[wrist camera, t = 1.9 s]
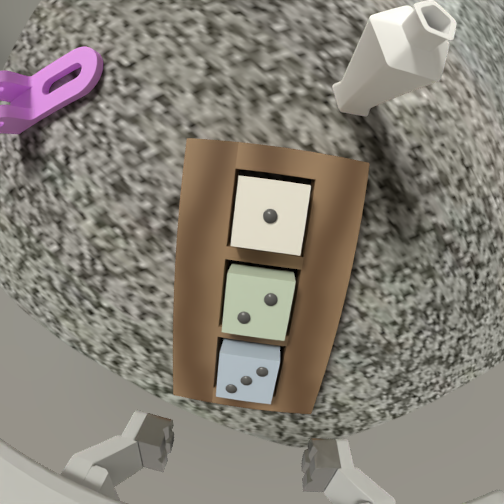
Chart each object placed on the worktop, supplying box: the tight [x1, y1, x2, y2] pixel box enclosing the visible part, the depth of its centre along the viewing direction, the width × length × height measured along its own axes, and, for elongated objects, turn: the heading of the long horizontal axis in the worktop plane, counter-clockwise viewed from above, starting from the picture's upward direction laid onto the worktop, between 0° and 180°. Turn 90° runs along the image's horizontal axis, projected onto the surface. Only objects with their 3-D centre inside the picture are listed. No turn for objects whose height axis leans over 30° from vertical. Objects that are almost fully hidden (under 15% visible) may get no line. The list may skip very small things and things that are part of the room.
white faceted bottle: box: [332, 0, 456, 116], centre depth 15 cm, size 5×4×15 cm
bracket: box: [0, 47, 103, 134], centre depth 20 cm, size 13×6×7 cm, turn 102°
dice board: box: [173, 138, 370, 414], centre depth 25 cm, size 14×24×2 cm, turn 173°
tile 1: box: [231, 176, 311, 256], centre depth 22 cm, size 5×5×3 cm
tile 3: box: [216, 338, 280, 404], centre depth 25 cm, size 5×5×3 cm
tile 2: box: [222, 263, 296, 341], centre depth 24 cm, size 5×5×3 cm
